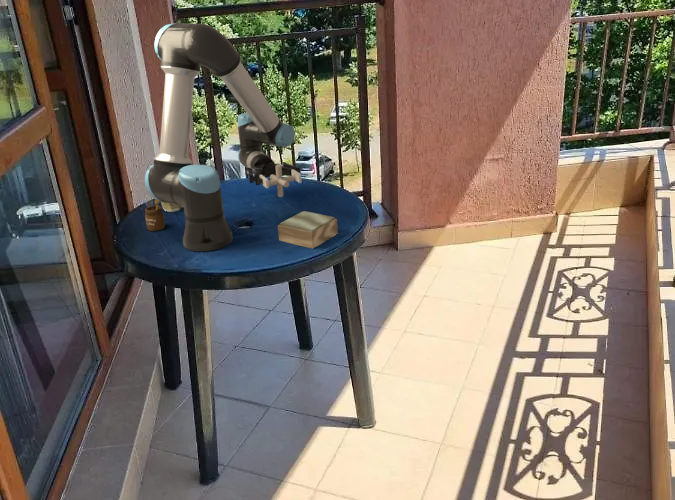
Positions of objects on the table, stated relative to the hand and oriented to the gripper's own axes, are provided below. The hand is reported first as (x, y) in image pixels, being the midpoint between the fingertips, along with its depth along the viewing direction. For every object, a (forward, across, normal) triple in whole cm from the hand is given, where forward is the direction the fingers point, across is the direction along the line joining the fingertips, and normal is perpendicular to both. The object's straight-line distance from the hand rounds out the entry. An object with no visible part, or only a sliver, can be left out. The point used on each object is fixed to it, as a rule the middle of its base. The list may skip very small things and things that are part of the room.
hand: (284, 181), depth 199 cm
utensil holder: (-25, +37, -17) cm, 47 cm away
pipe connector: (-4, 0, -6) cm, 8 cm away
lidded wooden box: (+9, -3, -16) cm, 19 cm away
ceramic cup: (-39, +27, -16) cm, 51 cm away
